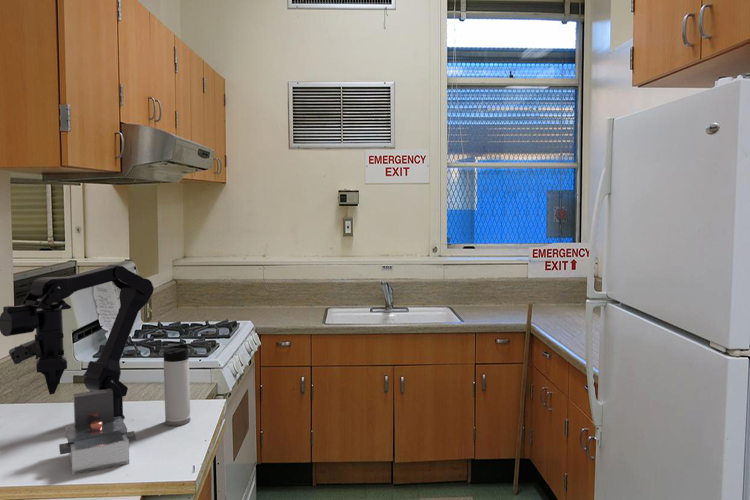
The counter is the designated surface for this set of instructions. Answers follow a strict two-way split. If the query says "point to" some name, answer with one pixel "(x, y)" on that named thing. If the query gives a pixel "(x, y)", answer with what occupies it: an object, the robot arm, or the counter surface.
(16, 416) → the counter surface
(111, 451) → the grey box with handles
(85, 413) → the lid
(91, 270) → the robot arm
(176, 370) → the travel mug
